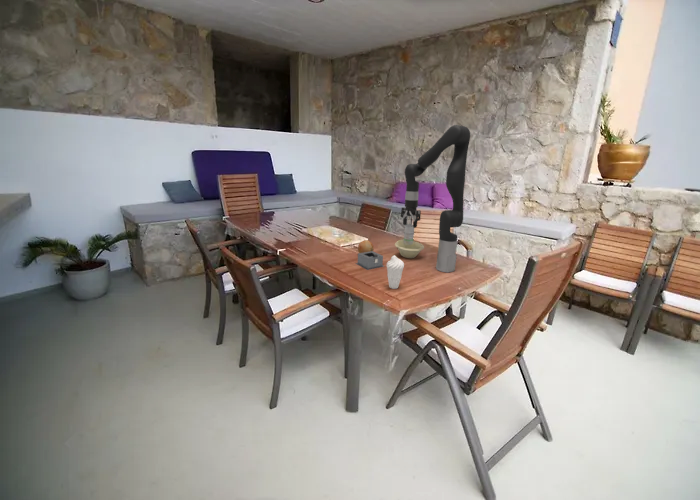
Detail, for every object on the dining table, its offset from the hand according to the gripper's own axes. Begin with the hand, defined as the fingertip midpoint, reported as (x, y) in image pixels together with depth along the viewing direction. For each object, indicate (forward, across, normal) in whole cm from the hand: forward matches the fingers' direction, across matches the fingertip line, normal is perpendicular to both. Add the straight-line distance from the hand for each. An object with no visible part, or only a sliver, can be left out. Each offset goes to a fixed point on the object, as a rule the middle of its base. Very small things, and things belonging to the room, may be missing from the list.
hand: (409, 226), depth 192 cm
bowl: (+20, +1, -2) cm, 20 cm away
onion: (+20, +14, +22) cm, 33 cm away
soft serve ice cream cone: (+21, -31, +38) cm, 53 cm away
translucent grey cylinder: (+11, +1, 0) cm, 11 cm away
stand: (+20, -2, +31) cm, 37 cm away
